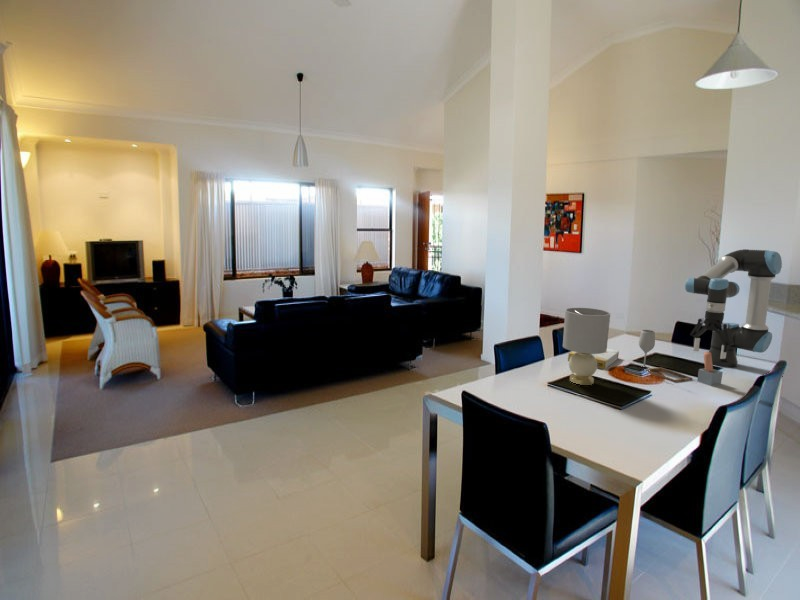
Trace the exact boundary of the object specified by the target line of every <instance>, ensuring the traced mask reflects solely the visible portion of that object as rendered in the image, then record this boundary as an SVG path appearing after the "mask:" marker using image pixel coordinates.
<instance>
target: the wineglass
mask: <svg viewBox="0 0 800 600" xmlns="http://www.w3.org/2000/svg"><path fill="white" fill-rule="evenodd" d="M655 345H656V334H655V331H654V330H651V329H641V332H640V336H639V340H638V346H639V348H640V350H641V351H643V352H644V358H643V365H642V366H643V367H647V366H646V361H647V360H646V359H647V353H649V352H650V351H652V350H653V349H654V347H655Z"/></svg>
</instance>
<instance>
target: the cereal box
mask: <svg viewBox="0 0 800 600" xmlns="http://www.w3.org/2000/svg"><path fill="white" fill-rule="evenodd" d="M574 353H576V352H574V351H570V352H568V355H567V356H568V357H567V362H569V360H570V358H571V356H572V355H573V354H574ZM619 353H620V351H619V350H616V349H611V348H607V351H606V352H604V353H600V354H592V355H593V356H594V357H595V359H596V361H597V369H600V370H606V369H607V368H608V367H609V366H611V365H612V364H613V363H614V362H615V361H617V360H618V359H619Z"/></svg>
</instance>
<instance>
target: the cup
mask: <svg viewBox="0 0 800 600" xmlns="http://www.w3.org/2000/svg"><path fill="white" fill-rule="evenodd" d="M722 380H723V371H720V370H717V369H714V368H713V373H711V372H708V371H705V367H704V368H699V369H698V372H697V380H696V381H697V383H700V384H704V385H705V386H709V387H714V386H719V385H722Z"/></svg>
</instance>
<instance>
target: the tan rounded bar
mask: <svg viewBox="0 0 800 600" xmlns="http://www.w3.org/2000/svg"><path fill="white" fill-rule="evenodd" d="M703 363H704V368H705V371H708V372H711V373H713V369H714V367H713V366H714V365H713V364H712V355H711V352H709V351H704V352H703Z"/></svg>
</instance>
